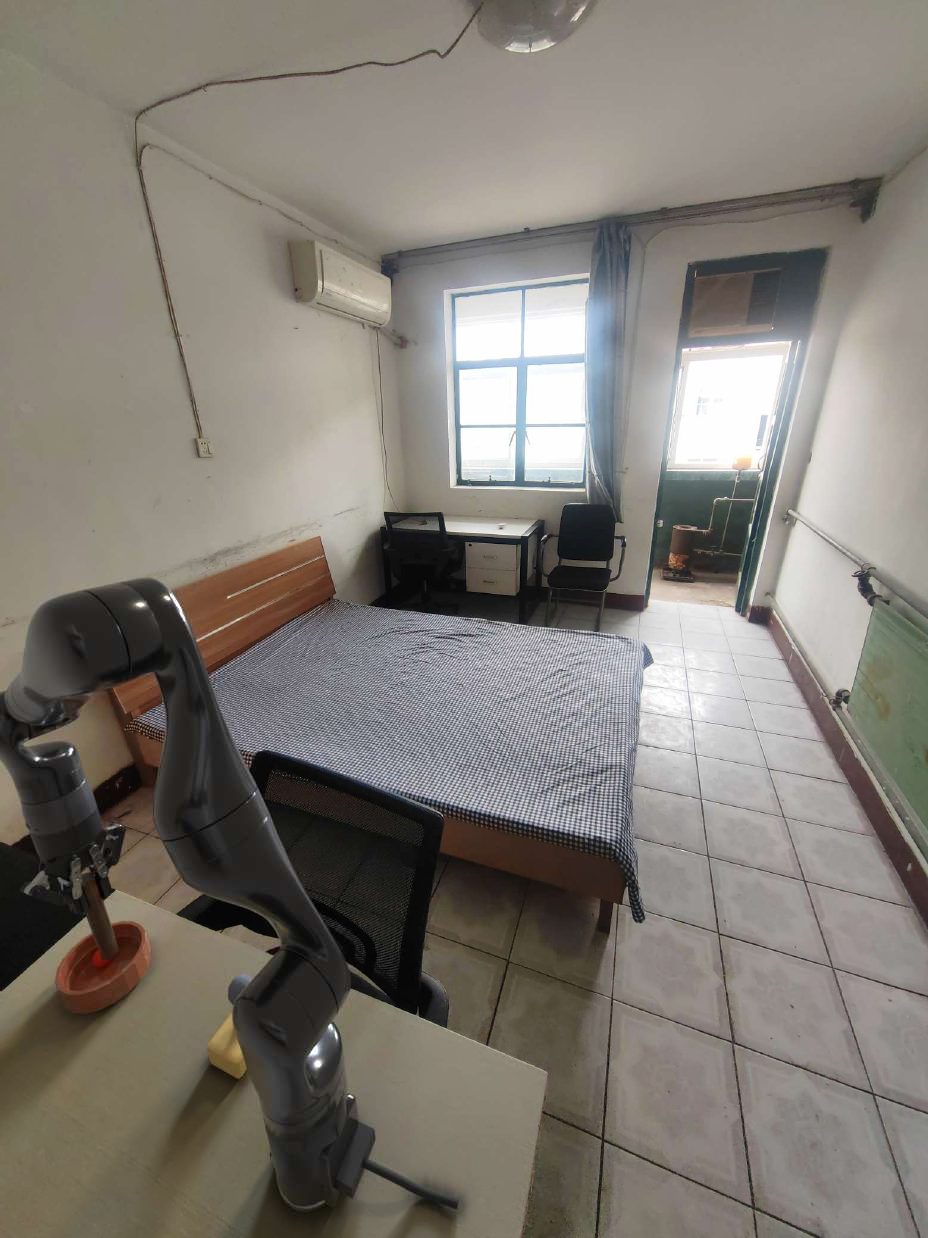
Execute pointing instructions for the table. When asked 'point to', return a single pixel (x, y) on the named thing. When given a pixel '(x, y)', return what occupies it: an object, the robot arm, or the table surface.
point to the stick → (99, 918)
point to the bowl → (103, 970)
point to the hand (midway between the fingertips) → (93, 902)
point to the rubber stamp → (229, 1036)
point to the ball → (99, 960)
